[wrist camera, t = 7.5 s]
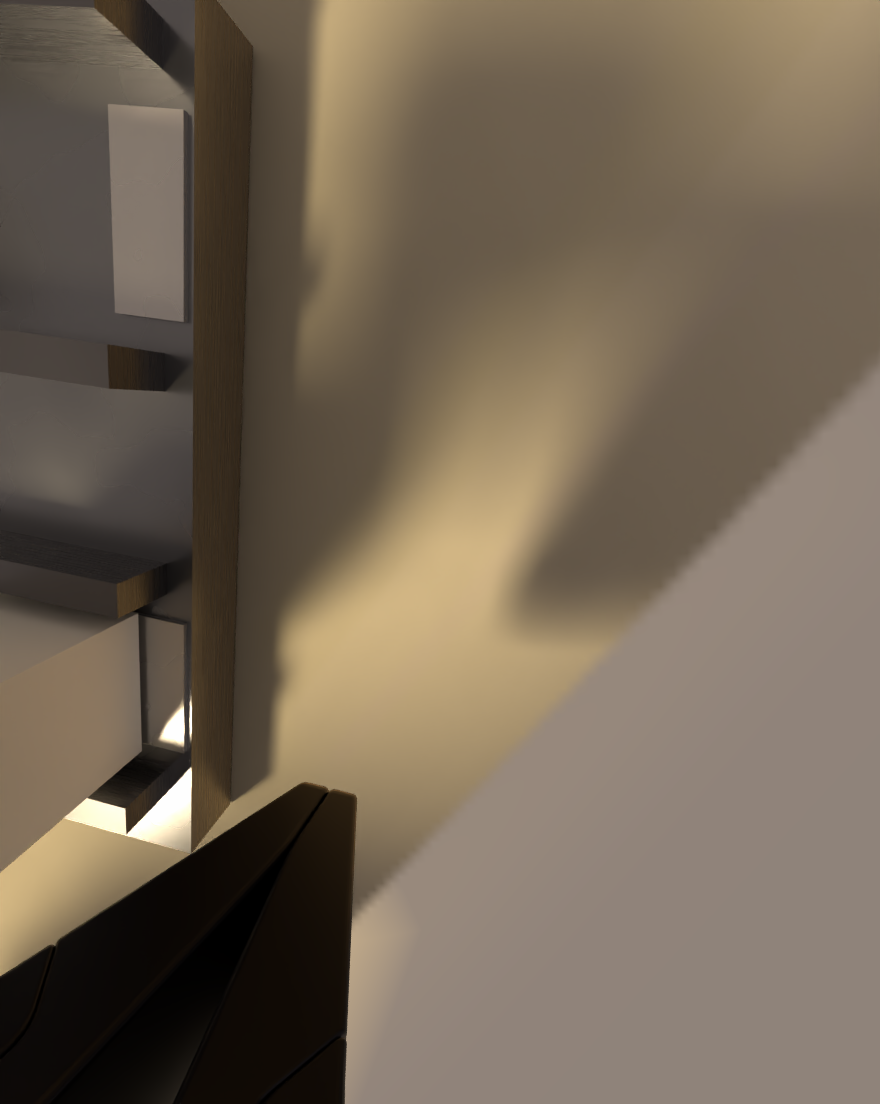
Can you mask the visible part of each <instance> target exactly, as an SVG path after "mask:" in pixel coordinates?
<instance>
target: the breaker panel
mask: <svg viewBox="0 0 880 1104" xmlns="http://www.w3.org/2000/svg"><path fill="white" fill-rule="evenodd" d="M252 50H253V46H252V45H251V44H250V42H249V41H248V40H247V38H246V37H245V36H244V35H243V33H242V32H241V31H240V30H239V28H238V27H237V26H236V24H235V23H234V22H233V21H232V19H231V18H230V17H229V15H228V14H227V13H226V12H225V10H224V9H223V8H222V7H221V5H220V4H219V3H218V1H217V0H0V593H4V594H8V595H13V596H18V597H22V598H27V599H31V600H36V601H40V602H45V603H49V604H54V605H58V606H63V607H68V608H72V609H77V610H81V611H86V612H90V613H95V614H99V615H104V616H108V617H113V618H120V617H122V616H124V615H126V614H128V613H130V612H135V613H138V626H139V664H140V701H141V738H142V751H141V752H140V753H139V754H138V755H137V756H135V757H134V758H133V759H132V760H131V761H130V762H128V763H127V764H126V765H125V766H124V767H123V768H121V769H120V770H119V771H118V772H117V773H116V774H114V775H113V776H112V777H111V778H110V779H109V780H107V781H106V782H105V783H104V784H103V785H102V786H100V787H99V788H98V789H97V790H96V791H95V792H93V793H92V794H91V795H90V796H89V797H88V798H87V799H85V800H84V801H83V802H82V803H81V804H80V805H78V806H77V807H76V808H75V809H74V810H73V811H71V812H70V813H69V814H68V815H67V816H66V817H64V818H65V819H69V820H72V821H76V822H79V823H83V824H86V825H90V826H94V827H97V828H101V829H104V830H108V831H111V832H115V833H119V834H122V835H126V836H129V837H133V838H136V839H140V840H143V841H147V842H151V843H154V844H158V845H161V846H165V847H168V848H172V849H175V850H179V851H183V852H186V853H190V854H191V853H192V852H193V851H194V849H195V848H196V847H197V846H198V844H199V843H200V842H201V840H202V839H203V838H204V837H205V835H206V834H207V833H208V831H209V830H210V829H211V828H212V826H213V825H214V824H215V823H216V821H217V820H218V819H219V817H220V816H221V815H222V814H223V812H224V811H225V810H226V809H227V807H228V806H229V805H230V785H231V752H232V718H233V685H234V651H235V618H236V585H237V551H238V518H239V484H240V451H241V417H242V384H243V350H244V317H245V284H246V250H247V217H248V183H249V150H250V116H251V83H252Z"/></svg>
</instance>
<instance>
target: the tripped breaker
mask: <svg viewBox="0 0 880 1104" xmlns="http://www.w3.org/2000/svg"><path fill="white" fill-rule="evenodd" d="M141 751H142V738H141V701H140V664H139V626H138V613H135V612H130V613H128V614H126V615H124V616H122V617H120V618H113V617H108V616H104V615H99V614H95V613H90V612H86V611H81V610H77V609H72V608H68V607H63V606H58V605H54V604H49V603H45V602H40V601H36V600H31V599H27V598H22V597H18V596H13V595H8V594H4V593H0V872H1V871H3V870H4V869H5V868H6V867H7V866H8V865H10V864H11V863H12V862H13V861H14V860H15V859H17V858H18V857H19V856H20V855H21V854H22V853H24V852H25V851H26V850H27V849H28V848H29V847H31V846H32V845H33V844H34V843H35V842H36V841H38V840H39V839H40V838H41V837H42V836H43V835H45V834H46V833H47V832H48V831H49V830H50V829H52V828H53V827H54V826H55V825H56V824H57V823H59V822H60V821H61V820H62V819H63V818H64V817H66V816H67V815H68V814H69V813H70V812H71V811H73V810H74V809H75V808H76V807H77V806H78V805H80V804H81V803H82V802H83V801H84V800H85V799H87V798H88V797H89V796H90V795H91V794H92V793H93V792H95V791H96V790H97V789H98V788H99V787H100V786H102V785H103V784H104V783H105V782H106V781H107V780H109V779H110V778H111V777H112V776H113V775H114V774H116V773H117V772H118V771H119V770H120V769H121V768H123V767H124V766H125V765H126V764H127V763H128V762H130V761H131V760H132V759H133V758H134V757H135V756H137V755H138V754H139V753H140V752H141Z"/></svg>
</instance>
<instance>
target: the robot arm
mask: <svg viewBox="0 0 880 1104" xmlns="http://www.w3.org/2000/svg"><path fill="white" fill-rule="evenodd" d="M356 809H357V797H356V796H355V795H354V794H351V793H347V792H343V791H339V790H335V789H333V790H331V791H329V790H328V788H326V787H324V786H320V785H316V784H312V783H308V782H304V783H301V784H299V785H297V786H296V787H294V788H293V789H291V790H290V791H288V792H286V793H285V794H283V795H282V796H280V797H279V798H277V799H276V800H274V801H272V802H271V803H269V804H268V805H266V806H265V807H263V808H262V809H260V810H259V811H257V812H255V813H254V814H252V815H251V816H249V817H248V818H246V819H245V820H243V821H241V822H240V823H238V824H237V825H235V826H234V827H232V828H231V829H229V830H228V831H226V832H224V833H223V834H221V835H220V836H218V837H217V838H215V839H214V840H212V841H210V842H209V843H207V844H206V845H204V846H203V847H201V848H200V849H198V850H197V851H195V852H193V853H192V854H190V855H189V856H187V857H186V858H184V859H183V860H181V861H179V862H178V863H176V864H175V865H173V866H172V867H170V868H169V869H167V870H166V871H164V872H162V873H161V874H159V875H158V876H156V877H155V878H153V879H152V880H150V881H148V882H147V883H145V884H144V885H142V886H141V887H139V888H138V889H136V890H134V891H133V892H131V893H130V894H128V895H127V896H125V897H124V898H122V899H121V900H119V901H117V902H116V903H114V904H113V905H111V906H110V907H108V908H107V909H105V910H103V911H102V912H100V913H99V914H97V915H96V916H94V917H93V918H91V919H90V920H88V921H86V922H85V923H83V924H82V925H80V926H79V927H77V928H76V929H74V930H72V931H71V932H69V933H68V934H66V935H65V936H63V937H62V938H60V939H59V940H58V941H57V943H56V946H54V945H49V946H47V947H46V948H44V949H43V950H41V951H39V952H38V953H36V954H35V955H33V956H32V957H30V958H29V959H27V960H25V961H24V962H22V963H21V964H19V965H18V966H16V967H15V968H13V969H11V970H10V971H8V972H7V973H5V974H3V975H2V976H0V1104H345V1071H346V1048H347V1047H346V1046H347V1043H346V1035H347V1015H348V993H349V969H350V947H351V924H352V901H353V878H354V855H355V832H356Z"/></svg>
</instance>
